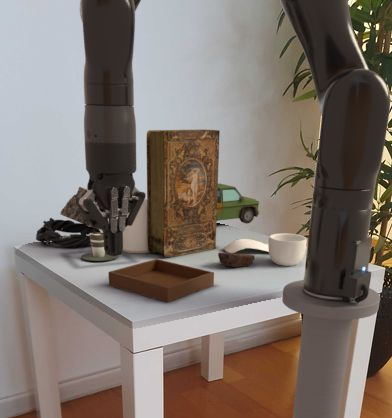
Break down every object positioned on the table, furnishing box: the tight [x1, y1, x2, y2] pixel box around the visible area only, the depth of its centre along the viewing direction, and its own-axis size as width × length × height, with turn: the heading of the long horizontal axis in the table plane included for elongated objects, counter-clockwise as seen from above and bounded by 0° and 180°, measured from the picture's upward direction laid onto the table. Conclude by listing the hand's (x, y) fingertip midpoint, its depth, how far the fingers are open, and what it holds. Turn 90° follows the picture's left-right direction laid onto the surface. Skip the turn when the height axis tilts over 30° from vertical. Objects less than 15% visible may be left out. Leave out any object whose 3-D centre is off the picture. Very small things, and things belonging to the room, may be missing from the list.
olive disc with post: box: [80, 232, 119, 262], centre depth 116 cm, size 12×12×5 cm
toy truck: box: [217, 183, 260, 224], centre depth 151 cm, size 11×21×10 cm, turn 120°
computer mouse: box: [224, 238, 269, 254], centre depth 125 cm, size 9×12×3 cm
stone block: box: [60, 186, 97, 227], centre depth 131 cm, size 14×9×8 cm, turn 176°
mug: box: [118, 198, 150, 254], centre depth 123 cm, size 11×9×10 cm
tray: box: [108, 258, 215, 303], centre depth 99 cm, size 14×12×2 cm
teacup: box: [267, 232, 308, 267], centre depth 115 cm, size 10×8×5 cm
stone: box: [217, 252, 256, 268], centre depth 113 cm, size 7×7×3 cm
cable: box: [35, 217, 102, 248], centre depth 130 cm, size 17×14×4 cm
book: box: [146, 129, 221, 258], centre depth 119 cm, size 16×6×25 cm, turn 132°
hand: (113, 254), depth 89 cm, fingers closed
